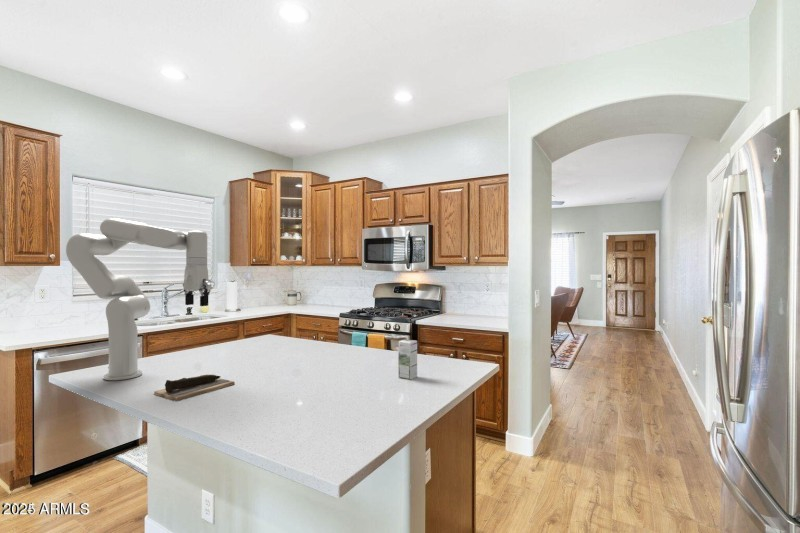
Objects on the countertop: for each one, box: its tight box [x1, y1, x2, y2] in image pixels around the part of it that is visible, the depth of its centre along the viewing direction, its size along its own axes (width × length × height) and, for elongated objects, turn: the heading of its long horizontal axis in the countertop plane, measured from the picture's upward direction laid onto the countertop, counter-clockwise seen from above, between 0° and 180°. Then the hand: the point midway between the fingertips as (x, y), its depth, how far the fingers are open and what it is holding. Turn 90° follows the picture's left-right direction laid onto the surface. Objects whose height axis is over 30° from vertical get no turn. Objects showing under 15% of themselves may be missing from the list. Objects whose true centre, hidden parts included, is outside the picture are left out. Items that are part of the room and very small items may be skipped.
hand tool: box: [164, 374, 221, 392], centre depth 146 cm, size 19×4×5 cm
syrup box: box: [397, 339, 418, 380], centre depth 161 cm, size 6×6×14 cm
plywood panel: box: [153, 377, 235, 402], centre depth 145 cm, size 13×22×1 cm, turn 149°
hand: (196, 305), depth 162 cm, fingers open, 9 cm apart
